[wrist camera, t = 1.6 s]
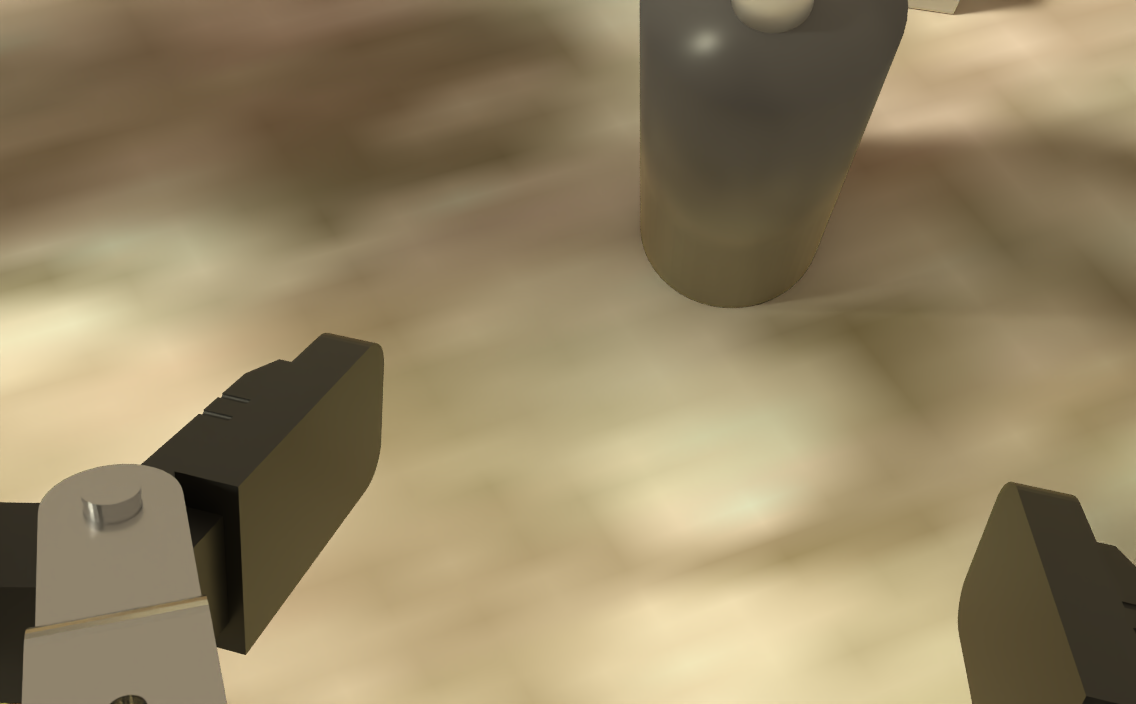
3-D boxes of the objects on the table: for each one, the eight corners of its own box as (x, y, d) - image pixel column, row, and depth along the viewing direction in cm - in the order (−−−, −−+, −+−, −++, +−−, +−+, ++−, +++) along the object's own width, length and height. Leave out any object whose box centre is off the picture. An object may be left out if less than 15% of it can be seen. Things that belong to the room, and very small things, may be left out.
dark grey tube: (623, 288, 28) (612, 57, 18) (660, 133, 30) (670, -162, 19) (804, 323, 28) (901, 105, 17) (832, 163, 29) (938, -127, 19)
